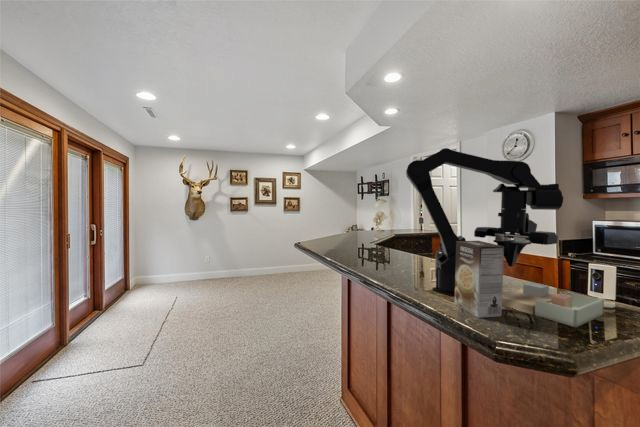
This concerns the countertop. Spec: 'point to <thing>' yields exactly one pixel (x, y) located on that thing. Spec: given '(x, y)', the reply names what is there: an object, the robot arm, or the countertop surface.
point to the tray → (571, 310)
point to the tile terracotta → (562, 300)
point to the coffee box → (479, 278)
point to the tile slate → (536, 289)
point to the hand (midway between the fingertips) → (511, 266)
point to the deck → (522, 300)
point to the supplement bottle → (438, 254)
